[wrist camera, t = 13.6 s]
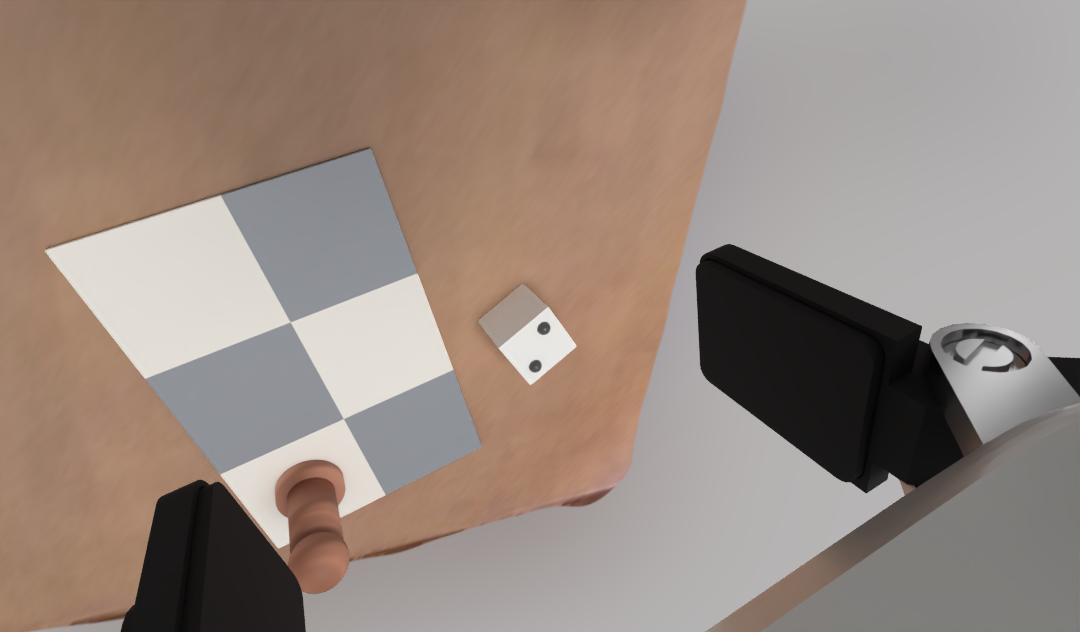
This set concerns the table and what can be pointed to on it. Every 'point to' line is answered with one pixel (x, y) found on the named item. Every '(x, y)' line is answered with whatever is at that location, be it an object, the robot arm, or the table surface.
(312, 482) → the pawn
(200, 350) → the board
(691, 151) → the table surface
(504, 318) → the die
